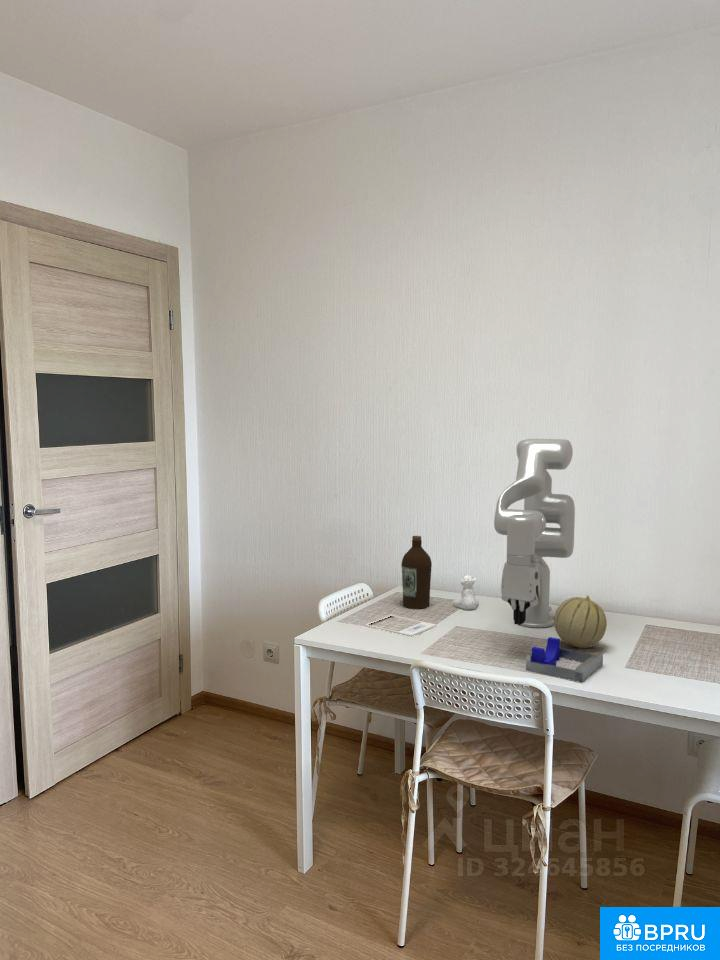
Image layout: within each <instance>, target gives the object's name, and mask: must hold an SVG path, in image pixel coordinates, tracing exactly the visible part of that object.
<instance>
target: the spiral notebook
mask: <svg viewBox="0 0 720 960" xmlns="http://www.w3.org/2000/svg"><path fill="white" fill-rule="evenodd" d="M390 616H392V617H393V619H397V618H399V619H398V620H402V619H404V620H403V621H407V620H408V621H407V622H412V623H416V622H417V624H413V625H412V626H409V627H407V628H403V629H401V630H399V631H398V630H392V629H389V628H383V627H380V626H375V625H372V624H371V623H373V624H375V623H378V622H380V621H379V620H381V621H383V620H385V618H386V619H388V617H389V618H391V617H390ZM382 619H383V620H382ZM377 621H378V622H377ZM374 622H375V623H374ZM369 624H370V625H369ZM365 626H369V627H368V628H370V627H374V628H378V629H381V630H380V631H383V630H385V631H384V632H387V631H389V633H392V632H393V634H396V633H397V634H398V635H400V634H402V635H401V636H405V635H406V636H405V637H409V636H411V638H413V637H414V635H415V636H417V635H420V634H422V633H424V632H427V631H428V630H432V629H433V628H436V627H438V625H437V624H436V623H431V622H427V621H421V620H417V619H411V618H407V617H402V616H398V615H393V614H390V615H388V616H385V617H381V618H380V619H377V620H375V621H372V622H369V623H366V624H364V627H365ZM374 628H373V629H374ZM378 629H377V630H378ZM397 634H396V635H397ZM412 636H413V637H412Z"/></svg>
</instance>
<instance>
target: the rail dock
mask: <svg viewBox="0 0 720 960" xmlns="http://www.w3.org/2000/svg"><path fill="white" fill-rule="evenodd" d="M563 658H564V660H568V659H569V660H568V661H573V660H575V661H574V662H578V661H580V662H579V663H581V664H579V665H577V667H575V669H571V668H566V667H561V666H557V665H556V666H553V665H549V664H544V663H540V662H535V661H532V654H526V657H525V661H526V662H525V670H526V671H527V672H528V671H529V672H534V673H537V674H541V675H547V676H550V677H554V676H555V678H559V677H560V678H559V679H563V678H566V679H565V680H567V679H570V680H569V681H572V680H574V681H573V682H576V681H579V682H578V683H580V682H581V683H582V682H584V681H585V680H586V679H587V677H588V676H589V675H590V676H592V673H593V672H594V673H595V672H597V671H598V670H599V669H600V668H601V667H603V666H602V665H603V663H604V661H603V660H604V653H603V652H599V651H597V652H595V653H588V652H583V651H578V650H572V649H567V648H563V647H562V648H561V647H560V659H563ZM582 662H583V663H582ZM597 669H598V670H597ZM594 673H593V674H594ZM590 676H589V677H590ZM589 677H588V678H589ZM585 678H586V679H585ZM584 679H585V680H584ZM583 680H584V681H583Z"/></svg>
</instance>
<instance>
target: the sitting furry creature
mask: <svg viewBox="0 0 720 960" xmlns="http://www.w3.org/2000/svg"><path fill="white" fill-rule="evenodd" d="M459 581H460V584H461V586H462V590H461V599H459V598H456V599H454V600H452V605H453V607H456V608H458V609H462V610H464V611H473V610H476V609H477V607H478V606H479V604H480V601H479V600H478V599H477V598H476V593H475V592H476V591H475V589H474V588H473V586H474V585H475V583H476V581H477V578H476V577H473V575H470V574H465V575H464V576H462V578H459Z"/></svg>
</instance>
